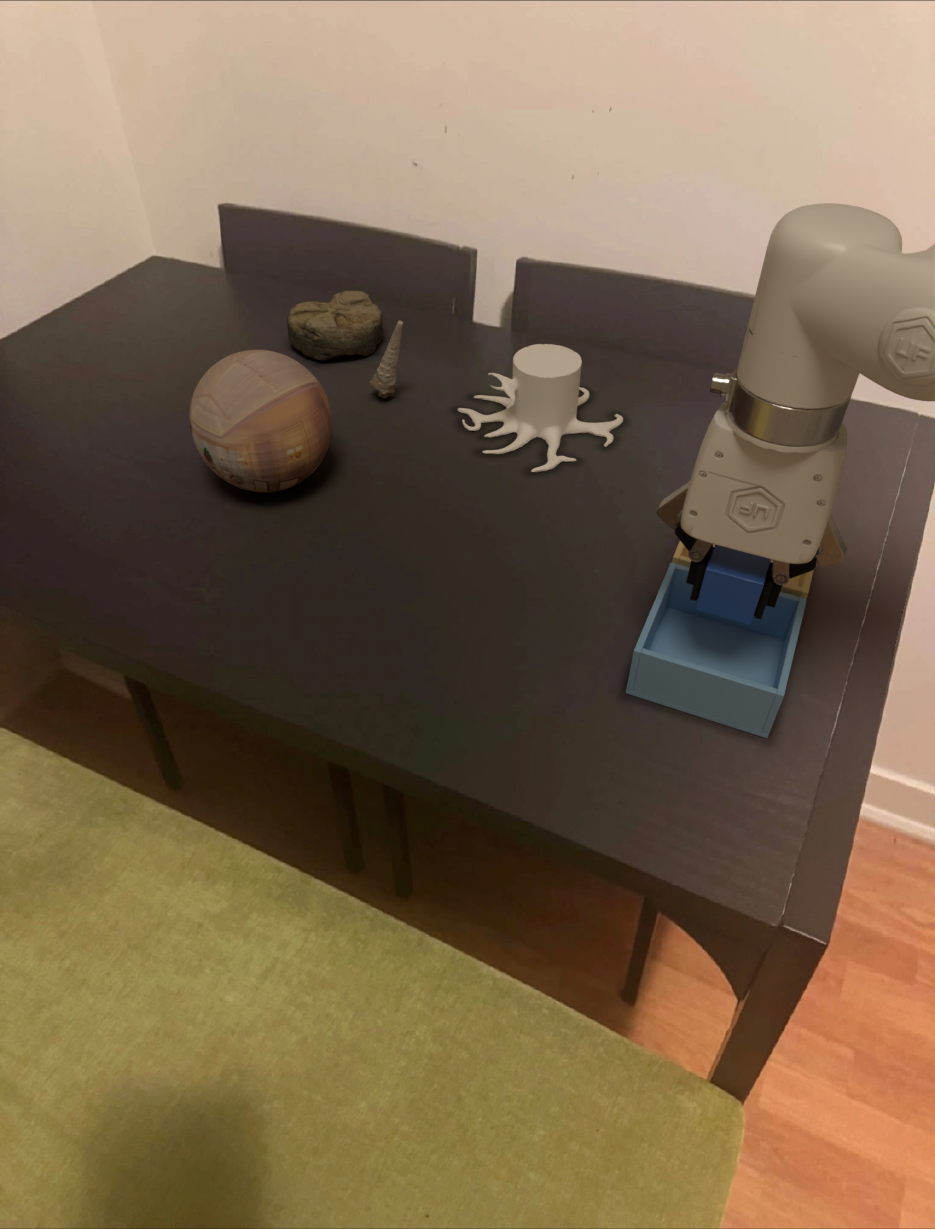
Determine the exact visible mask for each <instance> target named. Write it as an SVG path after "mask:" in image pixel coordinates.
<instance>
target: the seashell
mask: <svg viewBox="0 0 935 1229" xmlns="http://www.w3.org/2000/svg"><path fill="white" fill-rule="evenodd" d="M403 327H404V321H402V320H397V323H396V325H395V328H394V330H393V332H392V335H391V337H390V340H389V341H388V344H387V347H386V348H385V352H384V354H383V356H382V359H381V361H380V363H379V366H378V367H377V368H376V370H375V371H376V372H375V373H374V374H373V376H372V378H371V379H370V380H369V384H370V385H371V386H372V387H373V389H375V390H376V391H378V394H377V396H378V397H379V398H382V399H387V398H388V397H393V396H394V394H395V391H396V383H397V381H396V380H397V370H398V362H399V354H400V347H401V342H402V336H403Z"/></svg>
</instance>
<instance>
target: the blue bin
mask: <svg viewBox="0 0 935 1229" xmlns="http://www.w3.org/2000/svg"><path fill="white" fill-rule="evenodd" d="M689 568H690V567H686V566H683V565H679V564H675V563H672V562H670V563H669V566H668V568H667V570H666V572H665V576H664V577H663V580H662V582H661V584H660V587H659V589H658V592H657V594H656V597H655V599H654V601H653V603H652V606H651V607H650V610H649V613H648V616H647V617H646V619H645V620H646V621H645V623H644V625H643V626H642V627H643V628H642V630H641V632H640V634H639V637H638V640H637V642H636V643H635V647H634V649H633V652H632V657H631V663H630V666H629V667H630V668H629V674H628V678H627V683H626V689H625V694H627V695H630V696H632V697H636V698H639V699H642V700H645V701H648V702H651V703H655V704H658V705H661V706H664V707H667V708H670V709H674V710H677V711H680V712H683V713H686V714H688V715H692V716H695V717H698V718H700V719H705V720H708V721H711V722H713V723H717V724H721V725H723V726H727V727H729V728H733V729H735V730H738V731H742V732H744V733H748V734H752V735H754V736H758V737H761V738H764V739H768V738H769V735H770V732H771V730H772V728H773V726H774V723H775V720H776V718H777V715H778V713H779V710H780V708H781V705H782V702H783V700H784V698H785V694H786V689H787V685H788V681H789V677H790V673H791V668H792V665H793V660H794V655H795V652H796V647H797V643H798V638H799V635H800V631H801V626H802V622H803V619H804V618H803V617H804V614H805V610H806V605H807V601H808V599H807V598H806V599H805V598H801V597H798V596H794V595H790V594H786V593H783V592H780V594H779V596H778V599H777V602H776V605H775V608H773V607H770V606H766V607H765V610H764V613H763V616H762V618H761V620H760V619H757V618H755V616H753V619H752V622H751V625H748V624H744V623H741V622H737V621H734V620H730V619H727V618H723V617H720V616H716V615H713V614H710V613H706V612H703V611H699V610H696V605H697V601H698V600H696V601H694V600H690V597H691V593H692V589H693V585H691V584H688V583H686V580H687V576H688V572H689Z"/></svg>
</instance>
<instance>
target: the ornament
mask: <svg viewBox="0 0 935 1229" xmlns="http://www.w3.org/2000/svg"><path fill="white" fill-rule="evenodd" d="M188 414H189V416H188V417H189V418H188V419H189V429H190V430H189V431H190V435H191V437H192V441H193V444H194V447H195V448H196V451H197V453H198V454H199V456H200V457H201V459H202V461H203V462H204V463H205V464H206V466H207V467H208V468H209V469H210V470H211V471H212V472H213V473H214V474H215V475H216V476H218V477H219V478H220V479H222V480H223V481H224V482H226V483H228V484H230V485H232V486H234V487H236V488H239V489H242V490H246V491H250V492H254V493H274V492H279V491H284V490H286V489H287V490H288V489H289V488H292V487H295V486H296V485H299V484H300V483H302V482H303V481H305V480H307V479H308V478H309V477H310V476H311V475H312V474H313V473H314V472H315V471H316V470H317V469H318V467H319V466H320V464H321V463H322V462H323V460H324V459H325V456H326V454H327V452H328V450H329V448H330V443H331V440H332V435H333V434H332V432H333V415H332V409H331V405H330V402H329V400H328V396H327V393H326V392H325V391H324V388H323V387H322V385H321V383H320V382H319V381H318V379H317V378H316V376H315V375H314V374H313V373H312V372H311V371H310V370H309V369H308V368H307V367H305V366H304V365H303V364H301V363H300V362H299V361H297V360H296V359H294V358H293V357H290V356H288V355H286V354H283V353H280V352H278V351H277V352H276V351H274V350H273V351H272V350H267V349H248V350H243V351H238V352H235V353H232V354H229V355H227V356H225V357H223V358H221V359H220V360H218V361H217V362H215V363H214V364H213V365H212V366H211V367H210V368H209V369H208V370H207V371H205V373H204V374H203V376H202V377H201V378H200V380H199V381H198V383H197V385H196V387H195V389H194V391H193V394H192V397H191V400H190V405H189V412H188Z"/></svg>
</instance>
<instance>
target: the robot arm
mask: <svg viewBox="0 0 935 1229" xmlns="http://www.w3.org/2000/svg"><path fill="white" fill-rule="evenodd" d="M759 274H760V276H759V278H758V283H757V287H756V291H755V295H754V299H753V303H752V307H751V311H750V316H749V320H748V324H747V327H746V332H745V335H744V340H743V345H742V347H741V352H740V357H739V360H738V363H737V368H736V369H733V370H732V373H728V372H726V373H725V374H723V373H719V372H718V373H717V372H715V373H714V375H713V377H712V380H711V384H710V387H709V388H710V389H709V393H712V394H716V395H719V397H721V398H724V402H722V403H721V405H720V406H719V408H718V409H717V410H716V411H715V413H714V415H713V416H712V418H711V421H710V423H709V425H708V427H707V430H706V432H705V434H704V437H703V439H702V442H701V444H700V448H699V451H698V453H697V456H696V460H695V462H694V466H693V470H692V473H691V477H690V480H689V481H687V482H686V483H685V484H683V485H681V486H680V487H679V488H677V489H676V490H674V491H673V492H672V493H671V494H668V495H667V496H666V497H665V498H663V499H662V500H661V501H660V503H659V505H658V506H657V508H656V515H657V517H659V518H660V519H661V520H662V521H663V522H664V523H665V524H666V525H667V526H668V527H669V528H670V529H672V530H674V534H675V536H676V538H678V540H679V542H680V541H681V542H682V543H683V545H684V546H685V547H686V549H687V550H688V551H689V554H688V557H689V558H690V560H691V564H690V568H689V572H688V576H687V580H686V583H688V584H691V585H693V589H692V593H691V597H690V600H694V601H696V600H698V597H699V593H700V590H701V586H702V582H703V578H704V575H705V571H706V568H707V565H708V562H709V559H710V557H711V554H712V551H713V549H714V547H713V544H715V545H719V546H723V547H726V548H730V549H734V550H738V551H741V552H745V553H749V554H753V555H757V556H760V557H764V558H768V559H772V560H773V562H770V566H769V569H768V572H767V576H766V579H765V583H764V586H763V589H762V592H761V595H760V598H759V601H758V604H757V607H756V610H755V613H754V616H755V618H757V619H760V620H761V618H762V616H763V613H764V610H765V607H766V606H770V607H773V608H775V605H776V602H777V599H778V596H779V594H780V591H781V588H782V585H785V584H787V583H788V581H789V579H791V578H793V577H796V576H799V575H802V574H805V573H807V572H810V571H812V570H815V569H816V568H824V567H829V566H833V565H837V564H841V563H843V562H844V561H845V559H846V555H847V551H848V548H847V545H846V543H845V541H844V538H843V537H842V534H841V533H840V530H839V528H838V527H837V526H838V525H837V524H836V522H835V520H834V518H833V516H832V511H833V507H834V504H835V501H836V497H837V494H838V491H839V489H840V488H839V487H840V484H841V480H842V476H843V471H844V467H845V462H846V455H847V447H848V446H847V445H848V431H847V430H848V429H847V427H846V425H845V424H844V418H845V415H846V412H847V409H848V407H849V404H850V402H851V399H852V396H853V392H854V391H855V387H856V384H857V382H858V379H859V376H860V375H862V376H864V377H865V378H866V379H868V380H870V381H871V382H873V383H875V384H876V385H879V386H880V387H882V388H884V389H885V390H887V391H889V392H892V393H893V394H895V395H898V396H900V397H904V398H907V399H910V400H914V401H920V402H935V243H933V244H932V245H931V246H929V247H928V248H926V249H925V250H920V251H915V252H908V253H905V252H904V253H903V237H902V235H901V232H900V230H899V228H898V227H897V225H896V224H895V223H894V222H893V221H892V220H891V219H889V218H888V217H887V216H885V215H882V214H881V213H879V212H877V211H873V210H871V209H868V208H865V207H861V206H857V205H851V204H845V203H833V202H829V203H828V202H827V203H826V202H823V203H814V204H805V205H801V206H799V207H796V208H794V209H792V210H790V211H788V212H787V213H785V214H784V215H783V216H782V217H781V218H780V219H779V220H778V221H777V223H776V224H775V225H774V227H773V229H772V231H771V233H770V236H769V240H768V243H767V247H766V249H765V254H764V258H763V262H762V267H761V270H760V273H759ZM694 513H695V514H694ZM806 541H807V543H806Z"/></svg>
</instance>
